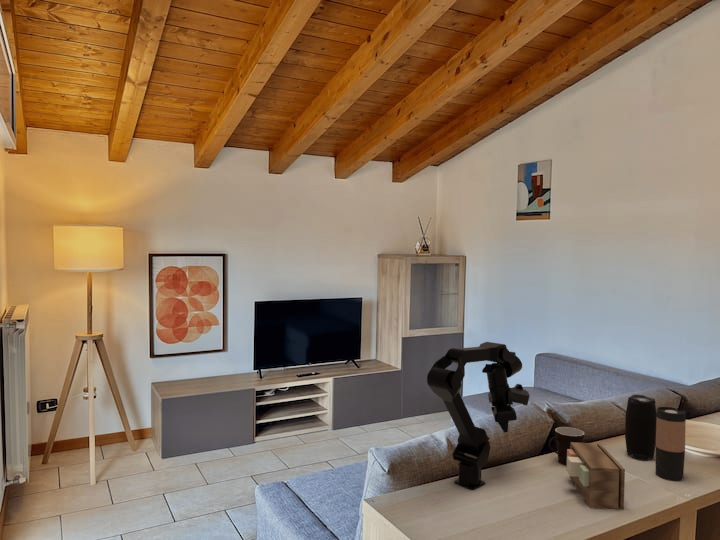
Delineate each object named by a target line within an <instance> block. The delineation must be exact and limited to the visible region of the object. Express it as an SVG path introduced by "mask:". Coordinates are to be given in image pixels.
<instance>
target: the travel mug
mask: <svg viewBox="0 0 720 540" xmlns="http://www.w3.org/2000/svg"><path fill="white" fill-rule="evenodd" d="M656 412H657V421H656V447H655V474H656V476H657V477H659V478H660V479H663V480H667V481H672V482H681V481H683V480H682V479H684V471H685V458H686V457H685V455H686V422H687V421H686V419H687V418H686V417H687V415H686V411H685V410H678V409H677V408H676V407H672V406H659V407H656Z"/></svg>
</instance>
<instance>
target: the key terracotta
mask: <svg viewBox="0 0 720 540" xmlns="http://www.w3.org/2000/svg"><path fill="white" fill-rule="evenodd" d="M567 457H576V451H575V450H574V449H567Z"/></svg>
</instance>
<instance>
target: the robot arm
mask: <svg viewBox="0 0 720 540" xmlns="http://www.w3.org/2000/svg"><path fill="white" fill-rule="evenodd" d="M479 362H492V363H485V365H484V367H483V368H482V370H481V372H482V373H483V374H486V376H487V383H488V385H487V386H488V390H489V391H488V394H487V397H488V402H489V403H490V404H491V411H492V415H493V420H494V423H498V425H499V427H500V428H501V429H502V432H503V433H508V430H509V422H514V421H517V420H518V418H517V412H516V409H515V408H514V407H513V406H511V405H514V403H516V404H520V405H523V406H528V405H529V401H530V397H531V396H530V395H531V394H530V393H529V392H528V390H526V389H524V388H523V384H520V383H516V384H515V385H514V386H512V387H510V385H509V382H508V378H511V377H512V376H515V374H517V373H519V372H520V371H521V370H522V369H523V362H522V361H521V359H520V358H519V357H518V356H517V353H516V352H515V351H509V349H508V347H507V345H506V344H505V343H500V342H499V343H498V342H491V341H485V342H482V343H480V344H479V346H472V347H470V346H469V347H461V348H456V347H451V348H448V350H447V352H446V353H445V355H443V356H442V357H440V359H438V360H436V361H435V362H434V363H433V365H432V367H431V368H430V370H428V371H429V372H428V373H427V375H426V376H427V377H426V383H427V385H428V387H429V388H430V390H431V391H432V392H433V393H434V394H435V395H436V396H438V397H439V398H440V399H441V400H442V401H443V404H444V406H445V407H446V409H447V411H448V413H449V415H450V418H451V420H452V421H453V424H454V426H455V428H456V429H457V432H458V437H457V444H456V446H455V448H454V450H453V452H452V453H451V454H452V458H453V461H457V462H459V463H458V478H457V479H455V480H454V484H457V485H459V486H462V487H464V488H466V489H469V490H471V491H472V490H476V489H477V488H479V487H481V486H484V485H485V484H486V481H484V480H482V467H484V466H486V465H488V461H489V458H490V457H489V456H490V451H491V444H490V437H489V436H488V434H487V431H486V430H485V429H484V428H482V427H478V426H475V424H474V421H473V419H472V417H471V415H470V413H469V411H468V409H467V406H466V404H465V402H464V399H463V398H462V395H461V394H460V393H461V388H462V385H463V384H462V381H463V379H465V375H466V373H465V372H466V371H465V370H466V369H465V368H466V367H465V366H466V365H467V364H468V363H479ZM453 363H454V364H457V368H456V370H453V369H452V370H451V369H447V368H448V367H450V366H451V365H452V364H453Z"/></svg>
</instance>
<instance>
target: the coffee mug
mask: <svg viewBox="0 0 720 540" xmlns="http://www.w3.org/2000/svg"><path fill="white" fill-rule="evenodd" d="M554 430H555V436H553V437H551V438H550V439H548V448H549V450H551V451H552V453H553V452H554V453H555V454H556V455H557V459H558V460H557V462H558V463H559V464H560V463H561V464H560V465H562V464H563V466H565V465H567V449H570V442H577V443H584V439H585V431H583V430H581V429H578V428H575V427H570V426H559V427H556V428H555V429H554ZM554 440H556V441H555V443H556V450H557V451H556V450H555V449H553V448H552V446H551V443H552V441H554Z"/></svg>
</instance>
